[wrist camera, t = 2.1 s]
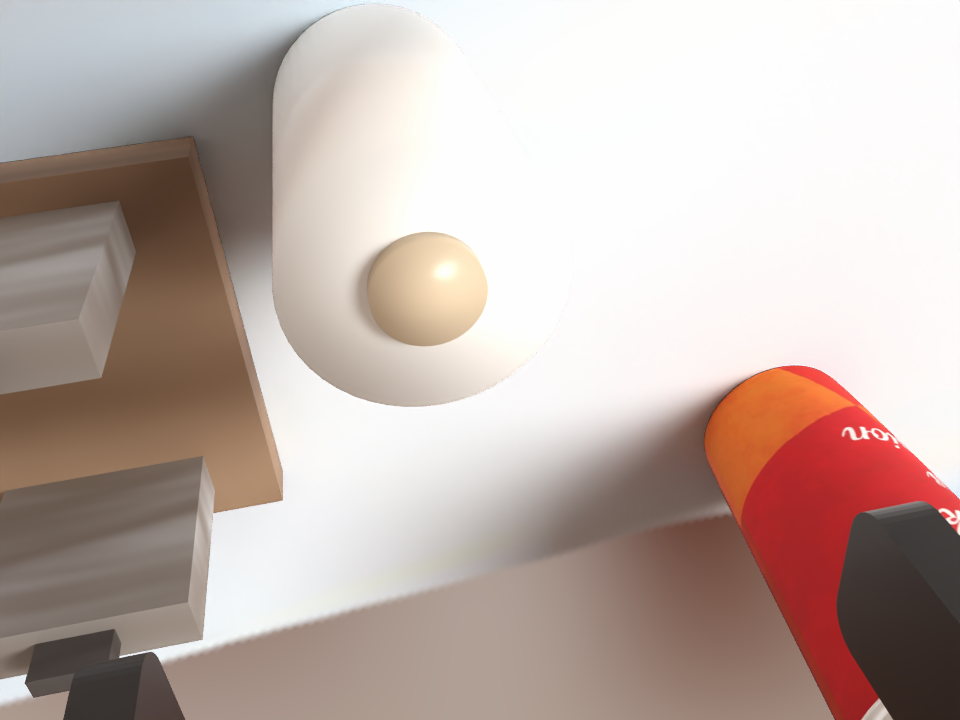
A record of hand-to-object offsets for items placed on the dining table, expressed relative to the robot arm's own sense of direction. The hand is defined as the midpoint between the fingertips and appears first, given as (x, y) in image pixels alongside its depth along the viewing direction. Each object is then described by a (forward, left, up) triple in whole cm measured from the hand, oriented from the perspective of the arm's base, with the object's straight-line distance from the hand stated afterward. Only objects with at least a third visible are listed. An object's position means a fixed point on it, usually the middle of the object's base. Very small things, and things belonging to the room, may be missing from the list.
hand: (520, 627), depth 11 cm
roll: (0, 0, -18) cm, 18 cm away
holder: (+6, -10, -18) cm, 21 cm away
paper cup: (+14, +13, -18) cm, 26 cm away
